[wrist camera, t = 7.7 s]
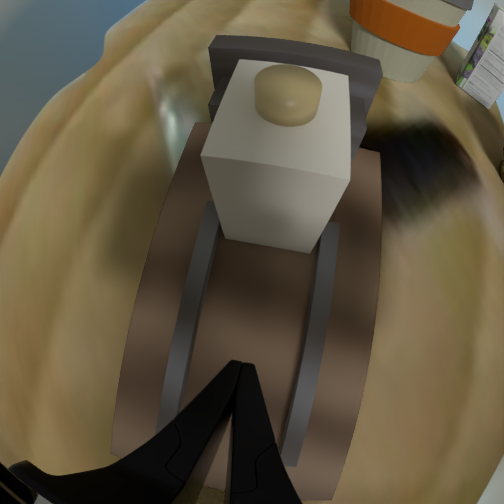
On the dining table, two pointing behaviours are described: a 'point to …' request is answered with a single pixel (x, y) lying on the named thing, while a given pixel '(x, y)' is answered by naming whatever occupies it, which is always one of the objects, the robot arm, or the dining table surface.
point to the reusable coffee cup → (405, 33)
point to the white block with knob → (279, 153)
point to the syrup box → (485, 61)
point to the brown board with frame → (260, 297)
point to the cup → (502, 168)
